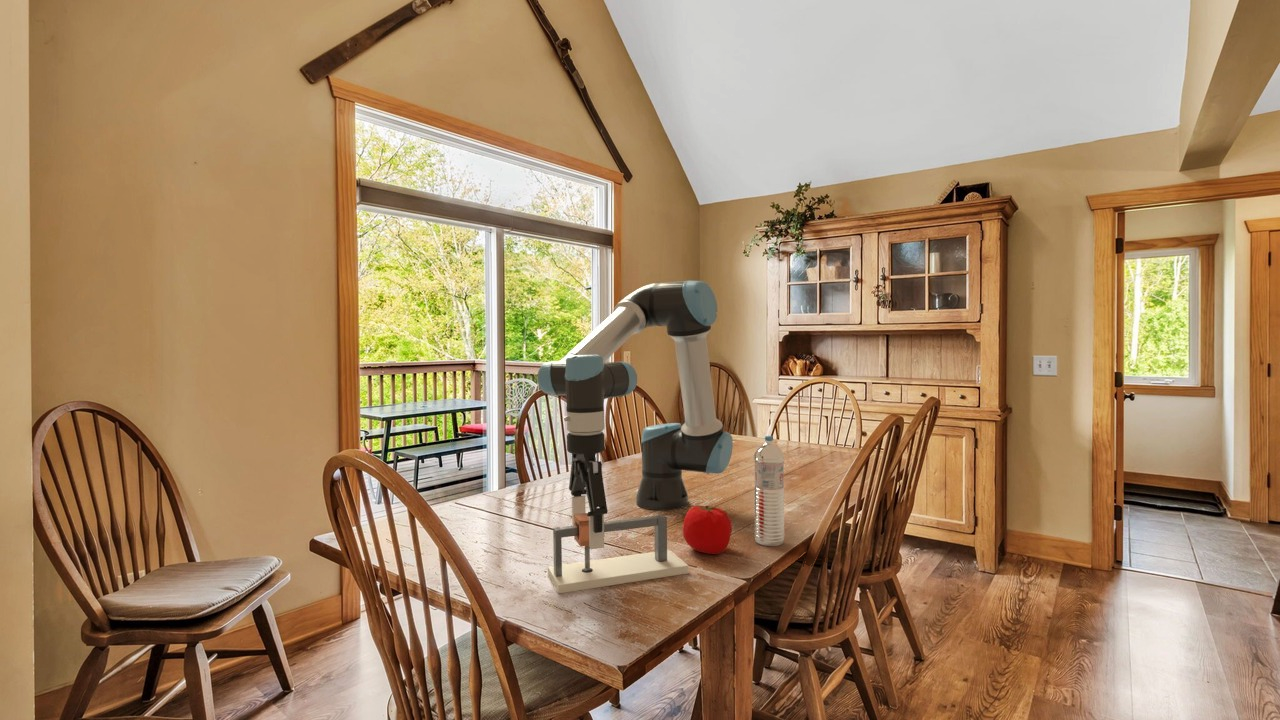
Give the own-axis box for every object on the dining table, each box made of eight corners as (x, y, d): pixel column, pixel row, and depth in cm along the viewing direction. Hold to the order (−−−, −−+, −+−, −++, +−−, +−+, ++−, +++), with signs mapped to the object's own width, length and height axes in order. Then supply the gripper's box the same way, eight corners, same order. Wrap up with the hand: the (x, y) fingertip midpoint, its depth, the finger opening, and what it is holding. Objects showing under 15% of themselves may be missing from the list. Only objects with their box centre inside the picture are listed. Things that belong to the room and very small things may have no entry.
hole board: (669, 556, 132) (669, 549, 132) (688, 573, 123) (688, 564, 123) (547, 574, 123) (547, 566, 123) (558, 593, 114) (558, 584, 114)
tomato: (705, 564, 128) (705, 516, 128) (671, 547, 139) (671, 503, 138) (745, 553, 134) (745, 508, 134) (709, 538, 145) (709, 496, 144)
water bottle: (765, 535, 146) (764, 433, 145) (789, 542, 141) (789, 436, 140) (748, 542, 141) (748, 436, 141) (773, 549, 136) (773, 440, 136)
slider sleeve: (593, 561, 124) (593, 512, 123) (600, 570, 119) (599, 519, 119) (574, 564, 122) (574, 514, 122) (580, 573, 118) (580, 521, 117)
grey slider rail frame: (663, 557, 128) (663, 514, 127) (667, 560, 126) (666, 517, 125) (553, 573, 119) (553, 527, 119) (555, 577, 118) (555, 530, 117)
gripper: (553, 424, 130) (556, 521, 131) (583, 443, 107) (585, 561, 108) (587, 422, 133) (589, 517, 134) (623, 440, 109) (625, 555, 110)
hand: (587, 537), depth 121 cm, fingers open, 13 cm apart
